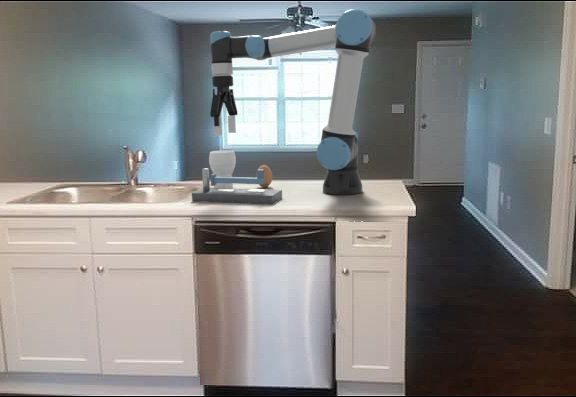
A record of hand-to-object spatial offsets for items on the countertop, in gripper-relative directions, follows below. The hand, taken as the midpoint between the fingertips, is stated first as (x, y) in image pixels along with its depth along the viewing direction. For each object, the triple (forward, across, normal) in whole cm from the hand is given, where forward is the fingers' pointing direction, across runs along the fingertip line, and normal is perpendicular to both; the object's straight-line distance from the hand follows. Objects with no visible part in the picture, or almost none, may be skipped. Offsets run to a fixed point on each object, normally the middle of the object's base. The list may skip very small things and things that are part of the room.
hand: (225, 134), depth 209 cm
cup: (+23, -12, -7) cm, 27 cm away
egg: (+23, -19, +8) cm, 31 cm away
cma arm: (+18, +9, +8) cm, 21 cm away
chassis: (+23, +9, +7) cm, 26 cm away
